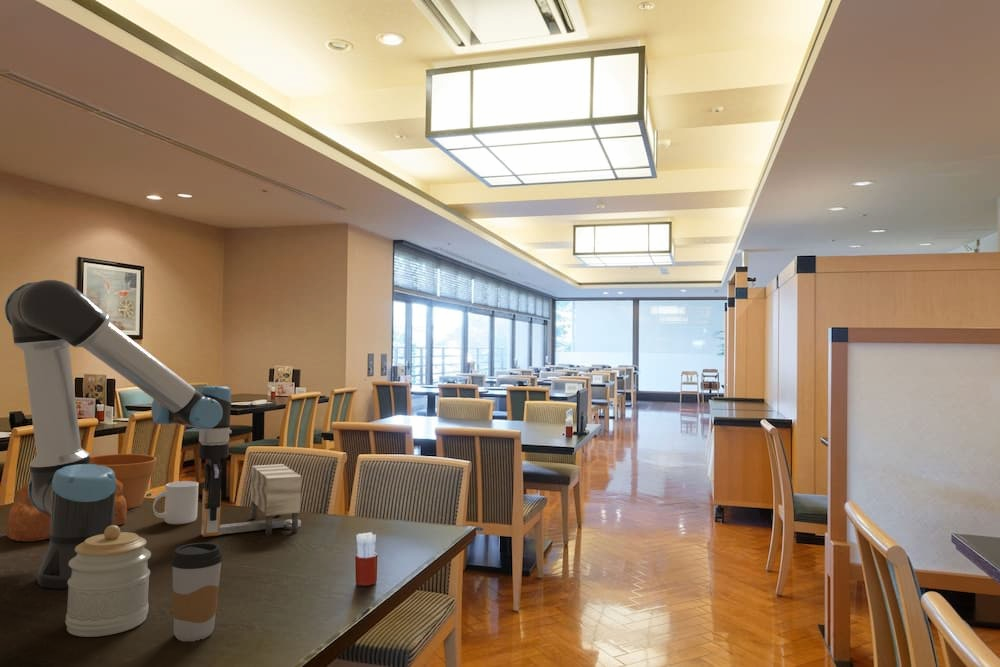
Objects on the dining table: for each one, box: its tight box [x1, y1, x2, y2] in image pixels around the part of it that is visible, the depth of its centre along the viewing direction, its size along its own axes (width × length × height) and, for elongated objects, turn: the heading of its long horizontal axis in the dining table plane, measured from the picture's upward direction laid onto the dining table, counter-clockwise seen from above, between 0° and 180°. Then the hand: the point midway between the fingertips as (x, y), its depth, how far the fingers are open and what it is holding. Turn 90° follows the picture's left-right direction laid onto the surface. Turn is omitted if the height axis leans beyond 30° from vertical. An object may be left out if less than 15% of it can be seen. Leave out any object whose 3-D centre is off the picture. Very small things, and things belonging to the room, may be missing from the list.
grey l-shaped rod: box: [200, 488, 284, 538], centre depth 182 cm, size 4×21×12 cm, turn 121°
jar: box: [65, 525, 152, 638], centre depth 120 cm, size 13×13×18 cm
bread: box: [6, 478, 128, 543], centre depth 179 cm, size 14×26×16 cm, turn 145°
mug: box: [152, 480, 199, 525], centre depth 190 cm, size 9×12×11 cm
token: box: [281, 518, 302, 530], centre depth 188 cm, size 5×5×2 cm
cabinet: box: [250, 463, 302, 537], centre depth 190 cm, size 22×9×16 cm, turn 31°
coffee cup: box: [170, 542, 224, 642], centre depth 116 cm, size 8×8×15 cm
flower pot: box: [90, 453, 157, 510], centre depth 207 cm, size 21×21×15 cm
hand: (210, 529), depth 177 cm, fingers closed on grey l-shaped rod, 4 cm apart
